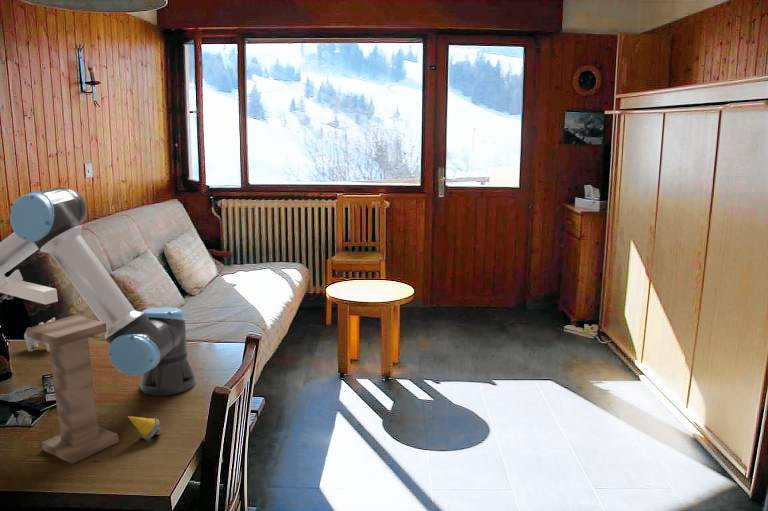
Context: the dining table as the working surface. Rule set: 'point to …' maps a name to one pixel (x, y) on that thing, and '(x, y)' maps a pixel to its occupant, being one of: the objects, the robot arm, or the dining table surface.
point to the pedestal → (73, 388)
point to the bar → (30, 291)
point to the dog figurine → (30, 340)
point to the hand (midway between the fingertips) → (11, 276)
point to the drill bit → (146, 426)
